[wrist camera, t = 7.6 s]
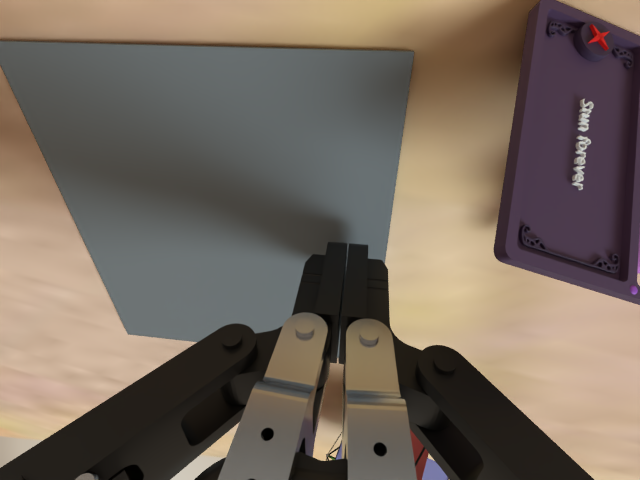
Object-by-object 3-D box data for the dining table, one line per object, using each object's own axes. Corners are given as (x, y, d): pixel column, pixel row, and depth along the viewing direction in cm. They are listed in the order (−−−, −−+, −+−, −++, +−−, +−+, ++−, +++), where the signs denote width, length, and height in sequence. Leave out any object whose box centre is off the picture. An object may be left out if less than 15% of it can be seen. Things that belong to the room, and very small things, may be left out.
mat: (413, 50, 10) (414, 52, 10) (370, 357, 19) (370, 361, 18) (-6, 40, 12) (-11, 41, 11) (129, 331, 20) (127, 334, 20)
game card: (566, -34, 8) (868, 99, 9) (446, 96, 13) (652, 172, 14) (531, 251, 7) (895, 366, 8) (410, 275, 12) (644, 344, 13)
